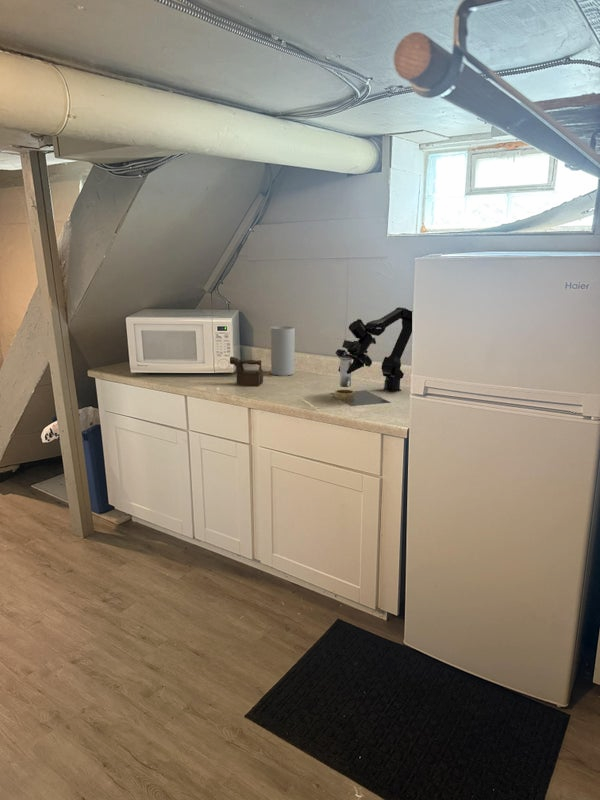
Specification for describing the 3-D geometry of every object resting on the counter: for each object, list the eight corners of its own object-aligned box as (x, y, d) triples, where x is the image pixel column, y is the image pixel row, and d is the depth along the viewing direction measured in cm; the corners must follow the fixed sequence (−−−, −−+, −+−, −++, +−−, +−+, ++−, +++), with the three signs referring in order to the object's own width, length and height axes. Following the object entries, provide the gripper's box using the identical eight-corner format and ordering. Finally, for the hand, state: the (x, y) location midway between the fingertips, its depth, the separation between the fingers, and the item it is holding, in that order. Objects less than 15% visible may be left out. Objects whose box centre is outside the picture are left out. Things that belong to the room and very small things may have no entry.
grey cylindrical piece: (350, 384, 248) (351, 355, 245) (351, 387, 243) (352, 358, 240) (338, 384, 248) (339, 356, 244) (339, 387, 243) (340, 358, 239)
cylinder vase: (297, 372, 302) (298, 327, 296) (288, 377, 291) (288, 329, 285) (277, 370, 307) (277, 325, 301) (267, 375, 296) (267, 328, 290)
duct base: (365, 392, 260) (366, 385, 259) (390, 404, 238) (391, 396, 237) (327, 395, 253) (328, 388, 253) (350, 408, 232) (350, 400, 231)
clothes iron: (234, 381, 280) (233, 355, 277) (264, 383, 277) (264, 356, 273) (228, 384, 273) (228, 357, 269) (259, 386, 269) (259, 359, 266)
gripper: (338, 331, 249) (319, 358, 245) (368, 335, 235) (348, 364, 231) (351, 347, 256) (332, 373, 252) (380, 352, 241) (361, 380, 238)
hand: (343, 372), depth 243 cm, fingers closed on grey cylindrical piece, 5 cm apart
